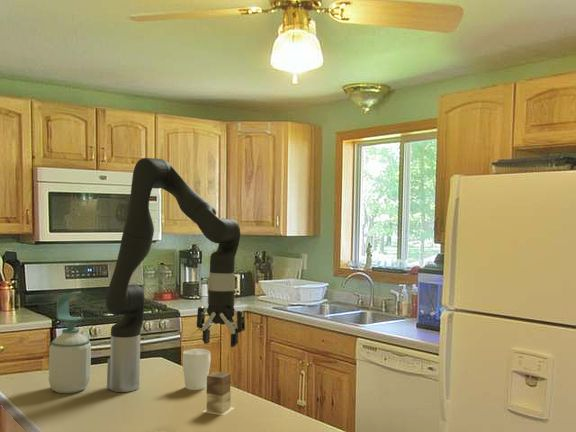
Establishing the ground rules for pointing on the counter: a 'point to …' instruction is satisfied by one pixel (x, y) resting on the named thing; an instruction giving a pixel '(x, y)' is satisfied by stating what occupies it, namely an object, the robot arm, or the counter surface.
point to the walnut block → (218, 383)
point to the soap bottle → (69, 353)
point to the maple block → (218, 402)
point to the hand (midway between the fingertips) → (220, 344)
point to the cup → (196, 368)
